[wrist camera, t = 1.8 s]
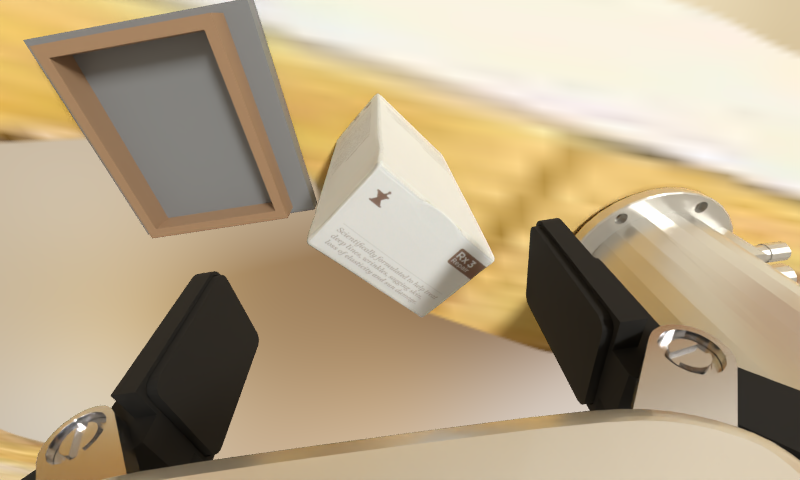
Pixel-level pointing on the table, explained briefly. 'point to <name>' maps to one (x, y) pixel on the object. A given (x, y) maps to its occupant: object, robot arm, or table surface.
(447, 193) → the skincare box
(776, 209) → the table surface
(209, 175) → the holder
